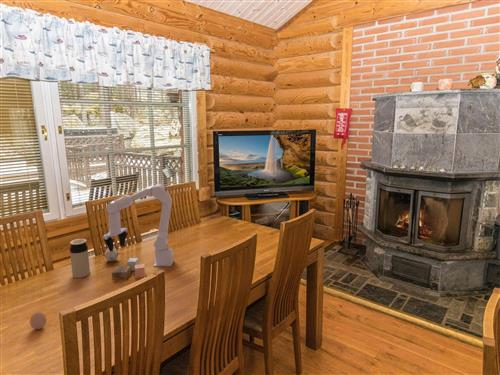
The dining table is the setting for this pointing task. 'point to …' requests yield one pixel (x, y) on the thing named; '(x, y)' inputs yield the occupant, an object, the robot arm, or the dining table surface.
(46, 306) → the dining table surface
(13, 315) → the dining table surface
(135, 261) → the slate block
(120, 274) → the walnut base
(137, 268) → the terracotta block
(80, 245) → the travel mug
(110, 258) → the pale grey round lump
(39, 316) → the egg
